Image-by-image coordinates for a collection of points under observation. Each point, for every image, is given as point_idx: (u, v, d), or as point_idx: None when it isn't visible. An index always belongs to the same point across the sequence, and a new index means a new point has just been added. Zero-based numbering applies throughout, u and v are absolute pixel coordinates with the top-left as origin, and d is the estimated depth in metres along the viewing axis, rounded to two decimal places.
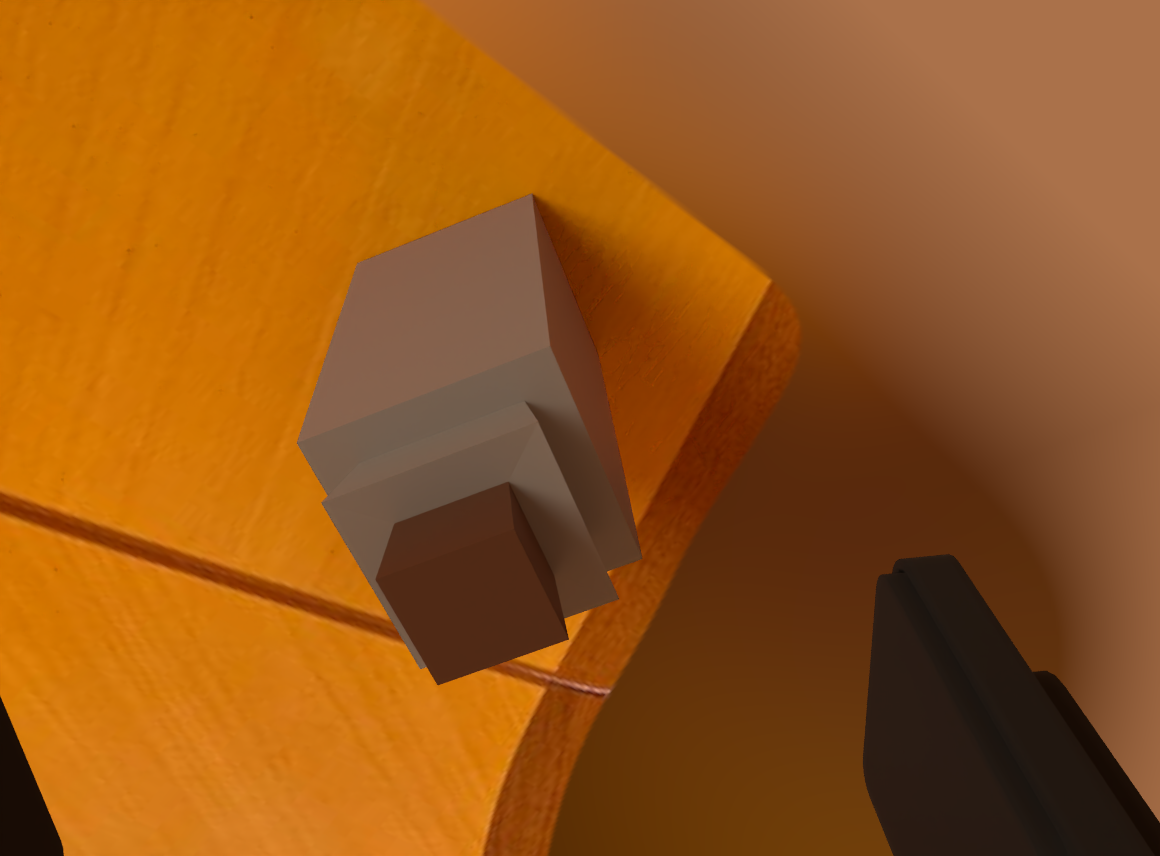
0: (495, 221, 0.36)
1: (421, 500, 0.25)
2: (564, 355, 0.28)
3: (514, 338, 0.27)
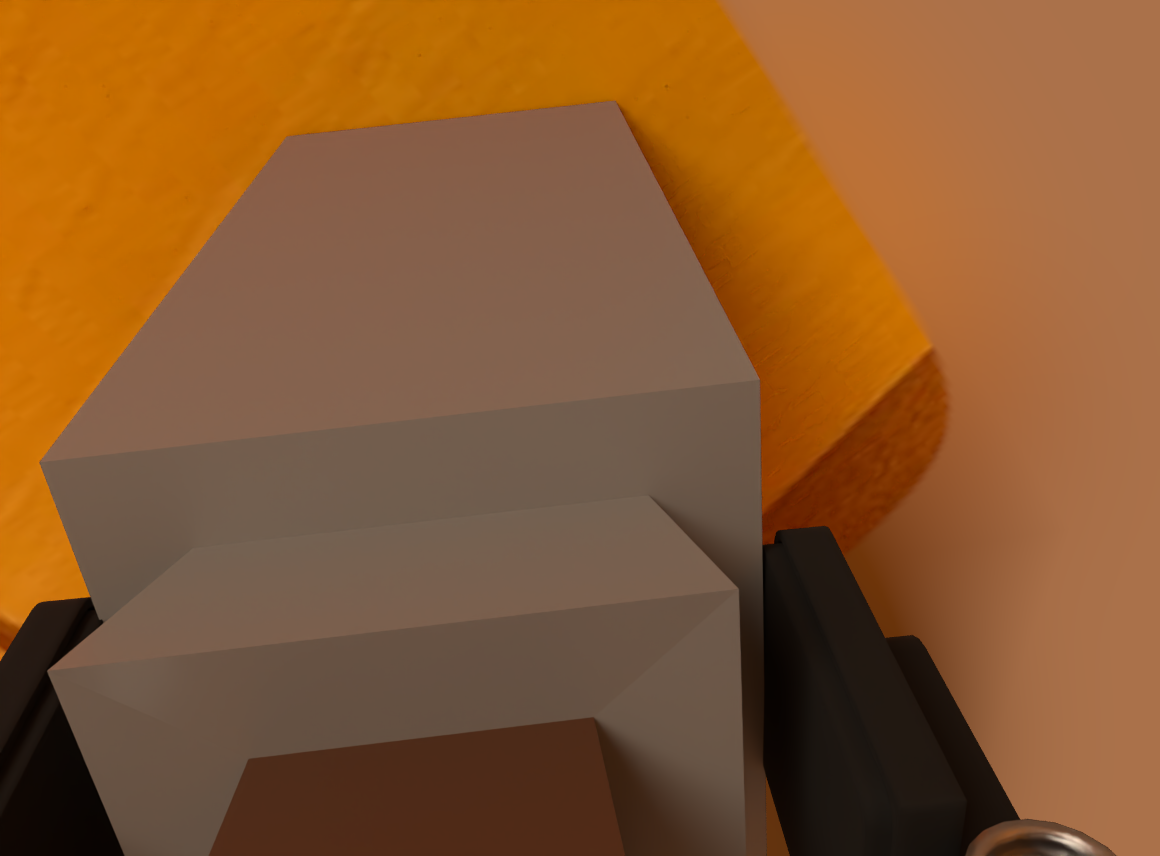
0: (551, 124, 0.21)
1: (342, 718, 0.09)
2: None
3: (647, 338, 0.11)
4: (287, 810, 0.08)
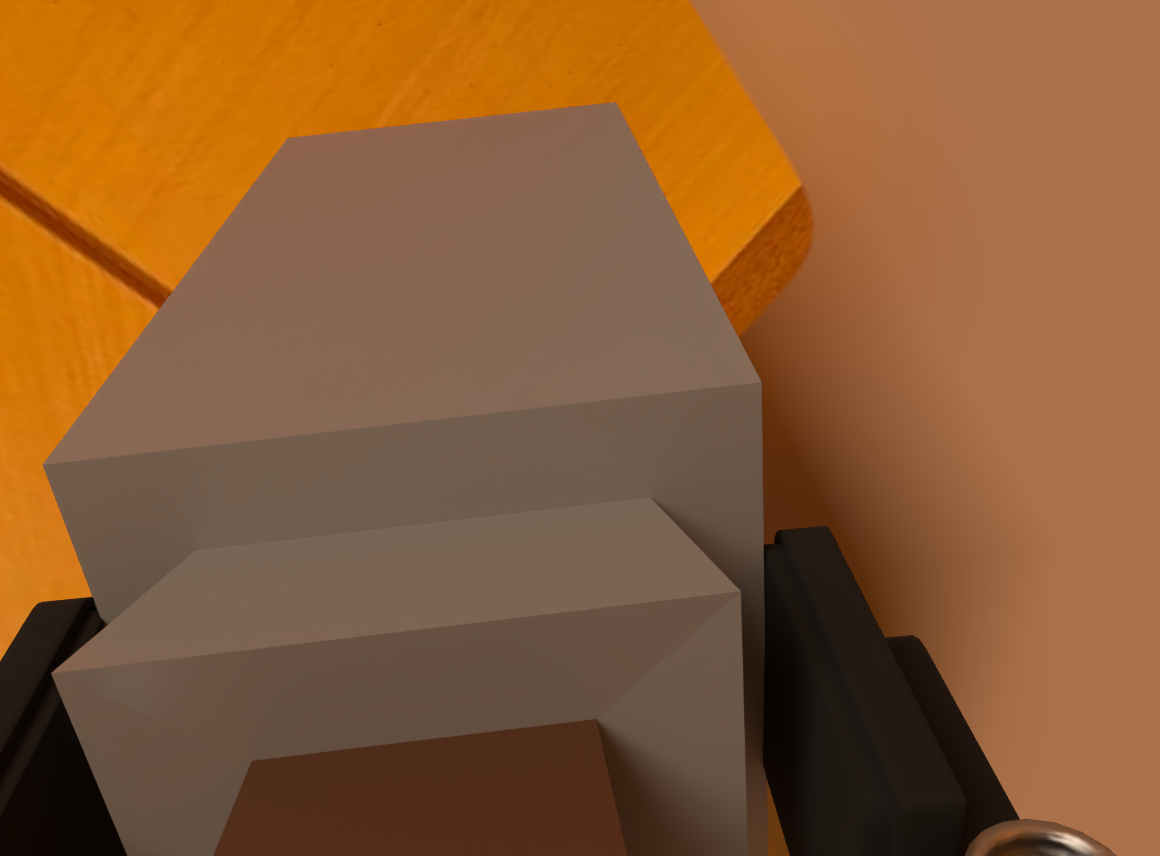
0: (552, 126, 0.21)
1: (345, 720, 0.09)
2: None
3: (648, 340, 0.11)
4: (290, 812, 0.08)
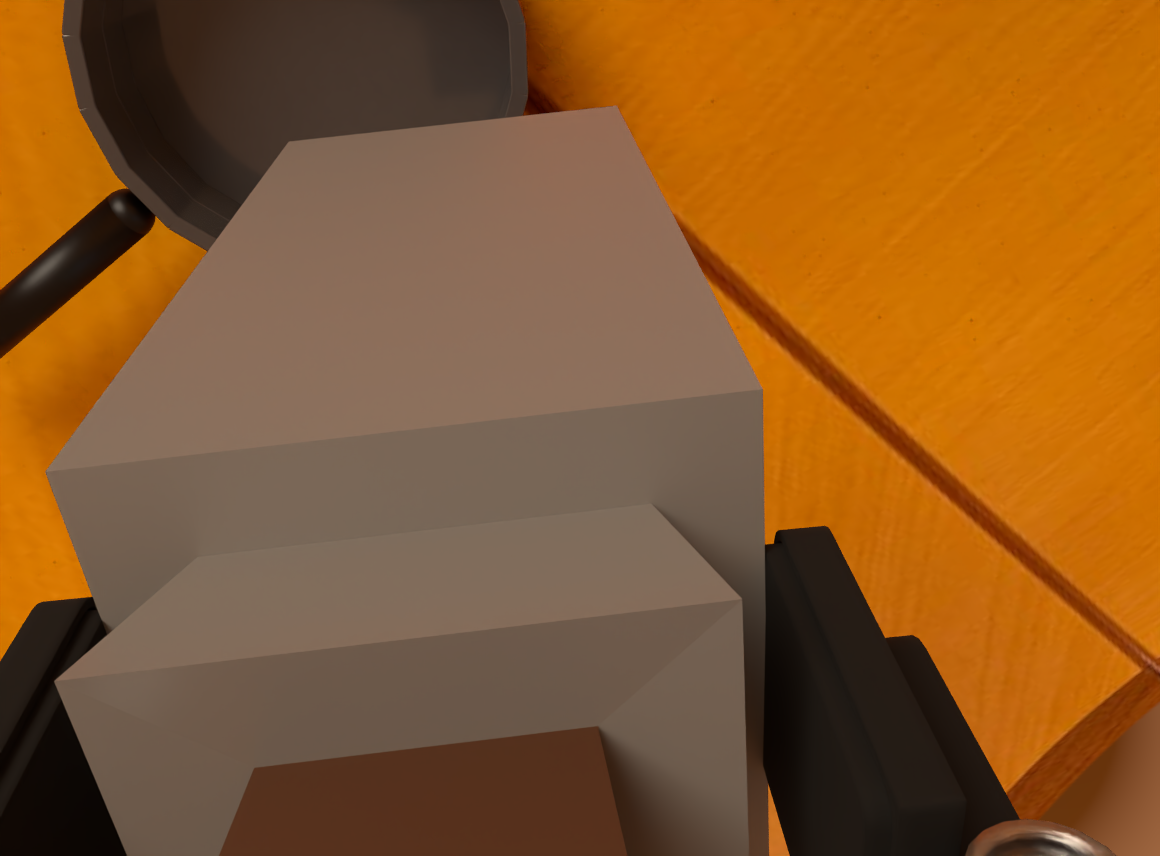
0: (553, 130, 0.21)
1: (347, 727, 0.09)
2: None
3: (649, 346, 0.11)
4: (293, 820, 0.08)
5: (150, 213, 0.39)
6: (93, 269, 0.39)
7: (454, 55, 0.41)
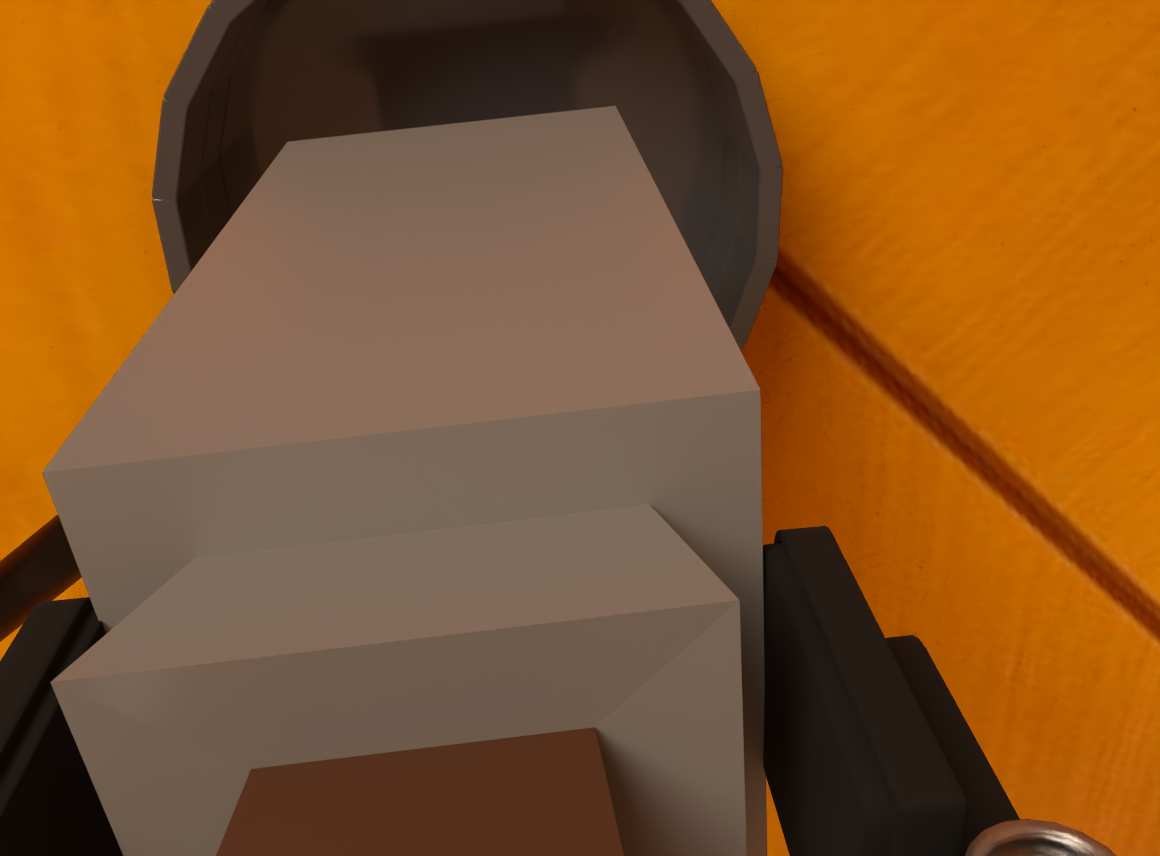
0: (551, 130, 0.21)
1: (344, 729, 0.09)
2: None
3: (647, 347, 0.11)
4: (289, 821, 0.08)
5: None
6: None
7: None
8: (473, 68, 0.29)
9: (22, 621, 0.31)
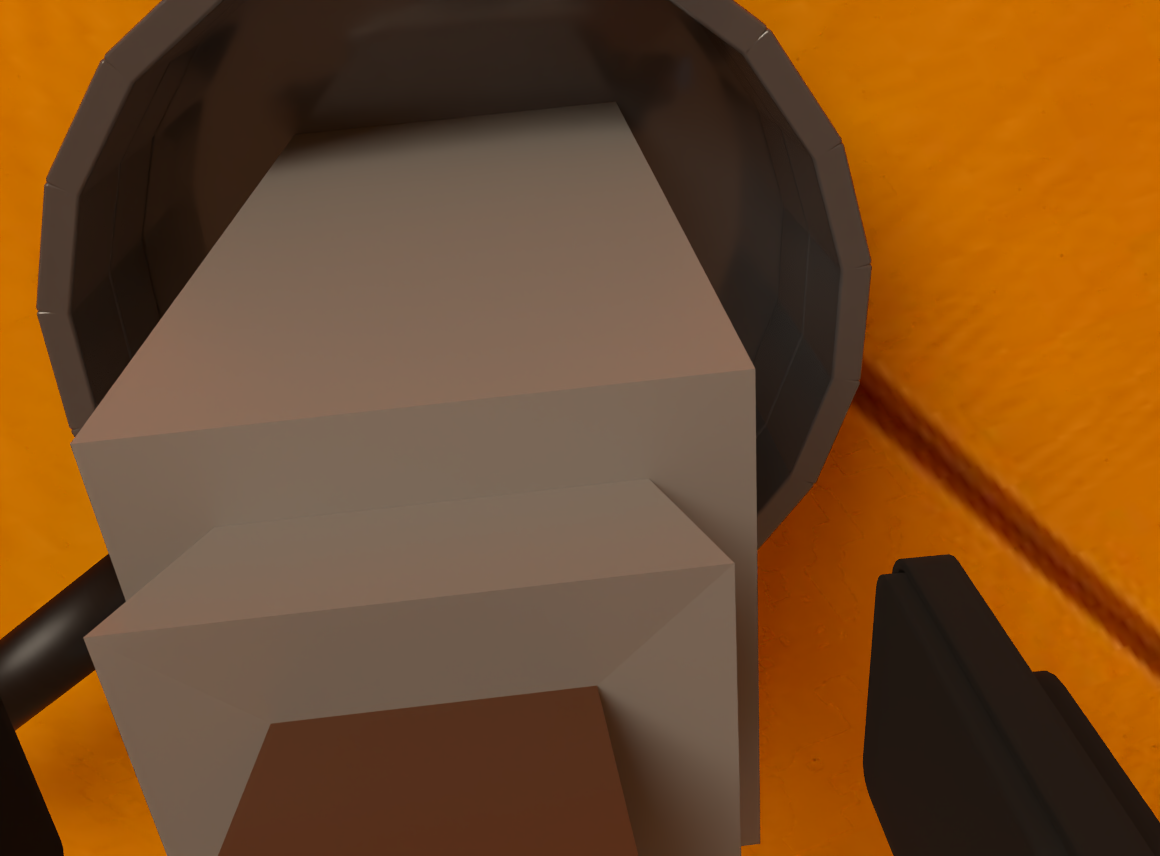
0: (553, 124, 0.21)
1: (360, 685, 0.09)
2: None
3: (648, 329, 0.12)
4: (309, 770, 0.09)
5: None
6: None
7: None
8: None
9: None
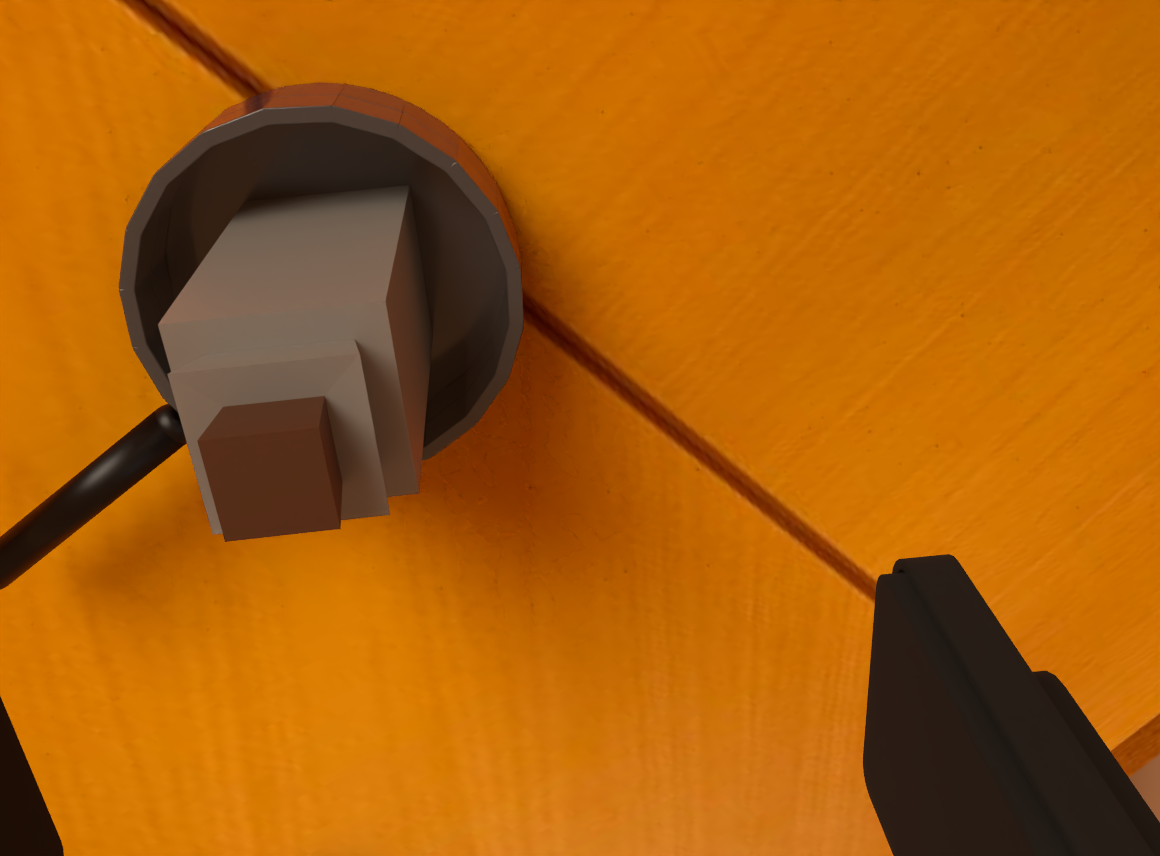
0: (372, 198, 0.43)
1: (250, 393, 0.31)
2: (396, 315, 0.35)
3: (359, 289, 0.33)
4: (233, 414, 0.30)
5: None
6: (141, 473, 0.44)
7: (457, 275, 0.46)
8: None
9: (30, 565, 0.46)
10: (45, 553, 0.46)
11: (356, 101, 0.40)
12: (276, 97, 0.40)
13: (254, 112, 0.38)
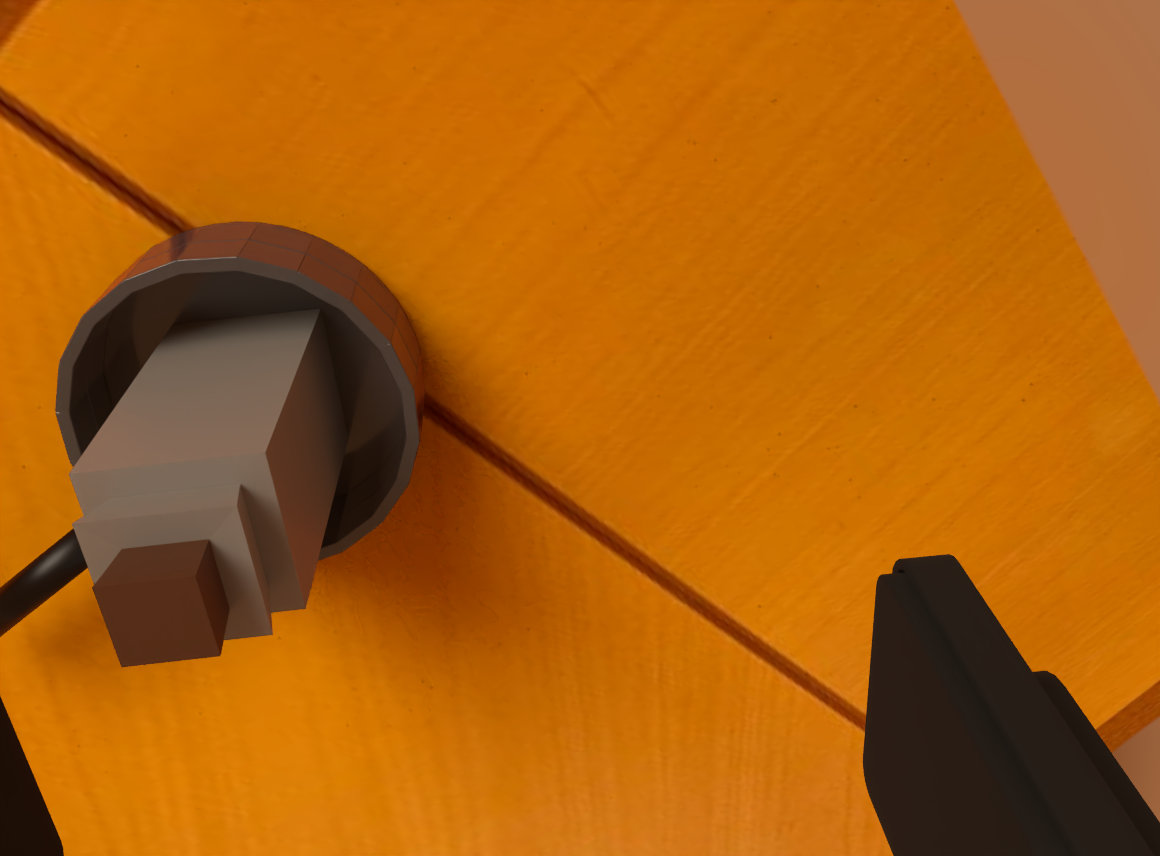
0: (284, 325, 0.47)
1: (144, 538, 0.36)
2: (284, 454, 0.40)
3: (246, 438, 0.38)
4: (128, 557, 0.35)
5: None
6: (83, 566, 0.50)
7: (368, 384, 0.51)
8: None
9: None
10: (0, 635, 0.51)
11: (262, 247, 0.45)
12: (192, 243, 0.45)
13: (168, 263, 0.43)
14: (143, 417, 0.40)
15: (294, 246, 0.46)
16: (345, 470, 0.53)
